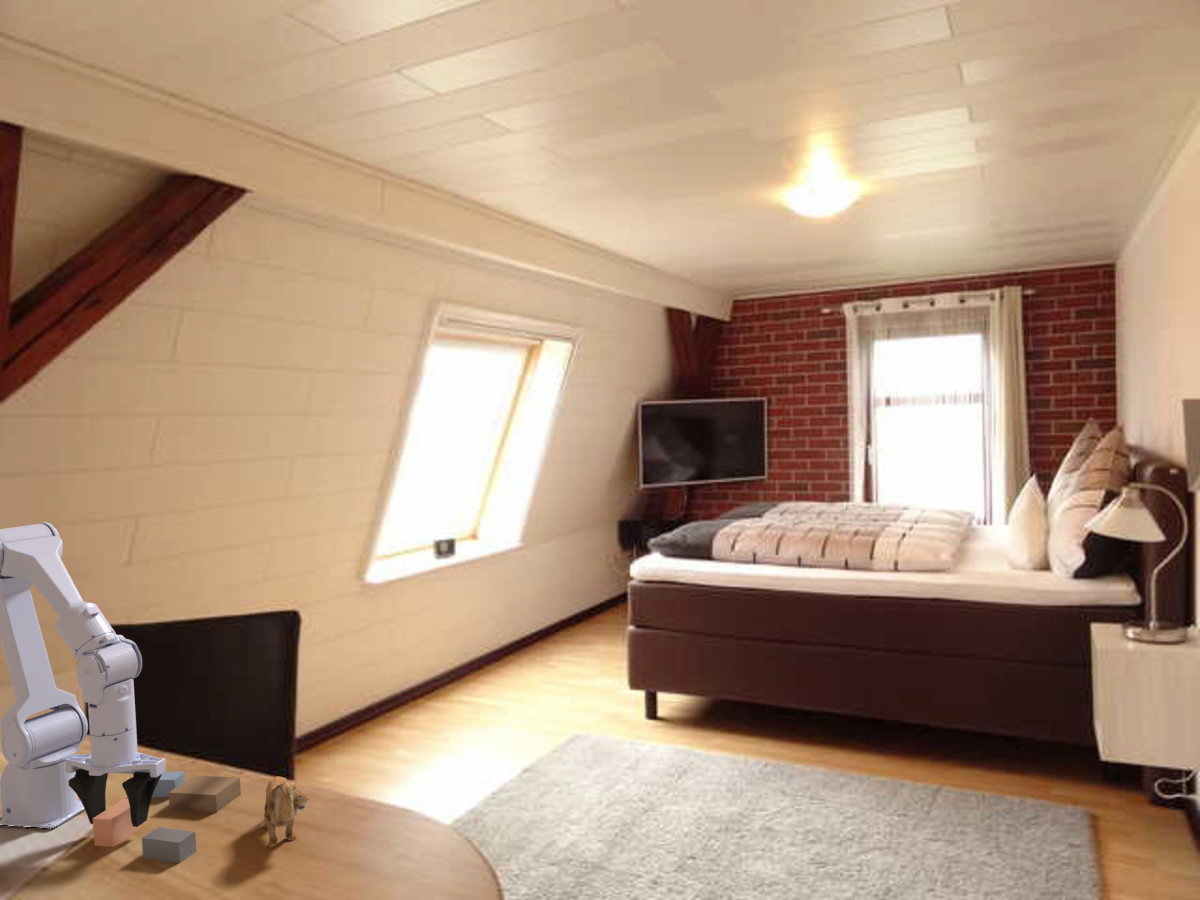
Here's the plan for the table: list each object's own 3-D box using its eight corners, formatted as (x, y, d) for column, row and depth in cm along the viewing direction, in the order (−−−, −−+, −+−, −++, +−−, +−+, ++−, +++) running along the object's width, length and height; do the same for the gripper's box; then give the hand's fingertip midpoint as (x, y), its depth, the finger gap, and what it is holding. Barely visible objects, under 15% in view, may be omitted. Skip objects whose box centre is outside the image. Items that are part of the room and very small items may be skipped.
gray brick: (143, 859, 114) (141, 838, 114) (159, 848, 117) (158, 827, 117) (180, 864, 113) (179, 842, 113) (196, 852, 116) (195, 831, 116)
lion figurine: (313, 847, 116) (310, 783, 115) (273, 859, 113) (269, 794, 112) (287, 807, 128) (284, 748, 128) (250, 817, 125) (247, 757, 125)
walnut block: (169, 811, 128) (168, 792, 128) (195, 793, 134) (194, 775, 134) (217, 814, 127) (216, 795, 127) (240, 796, 133) (239, 777, 133)
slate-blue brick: (138, 798, 133) (137, 779, 133) (149, 789, 136) (148, 771, 136) (175, 798, 132) (174, 779, 132) (185, 789, 135) (184, 771, 135)
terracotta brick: (94, 846, 118) (92, 818, 118) (125, 825, 124) (123, 798, 124) (113, 847, 118) (111, 819, 117) (143, 826, 124) (142, 799, 123)
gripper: (45, 737, 117) (51, 833, 118) (138, 741, 115) (144, 839, 116) (84, 719, 124) (90, 809, 125) (173, 722, 122) (178, 814, 122)
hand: (118, 822), depth 121 cm, fingers open, 6 cm apart
